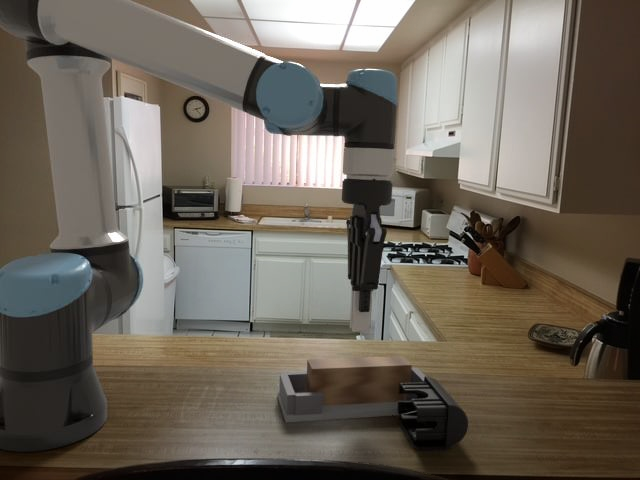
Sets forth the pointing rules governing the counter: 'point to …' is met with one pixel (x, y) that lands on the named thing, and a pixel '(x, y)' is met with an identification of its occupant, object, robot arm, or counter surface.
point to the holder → (310, 405)
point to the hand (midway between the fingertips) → (359, 329)
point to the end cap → (431, 416)
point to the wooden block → (358, 379)
